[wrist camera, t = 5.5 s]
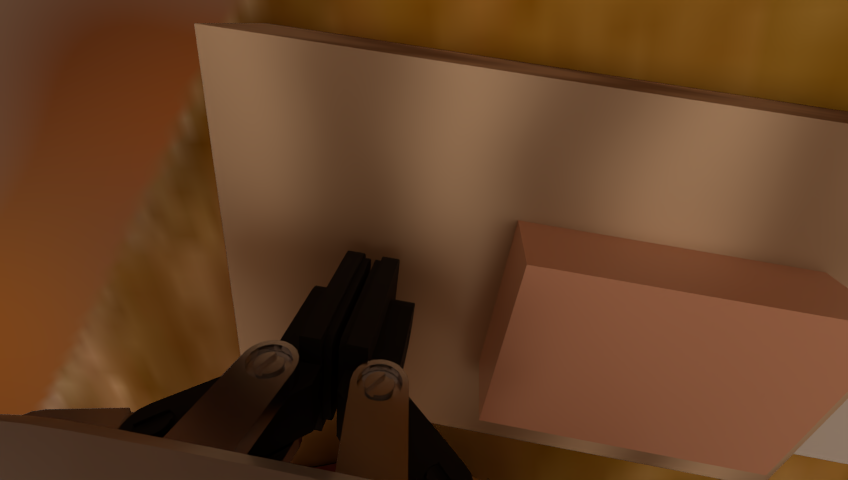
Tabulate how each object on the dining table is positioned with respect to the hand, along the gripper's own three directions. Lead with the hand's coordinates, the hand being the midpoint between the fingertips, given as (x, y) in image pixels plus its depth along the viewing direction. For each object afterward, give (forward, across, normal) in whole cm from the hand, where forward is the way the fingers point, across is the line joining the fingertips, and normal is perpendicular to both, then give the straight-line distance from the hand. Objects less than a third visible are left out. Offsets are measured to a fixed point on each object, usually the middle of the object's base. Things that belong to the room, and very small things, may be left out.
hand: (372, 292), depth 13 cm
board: (+5, -6, 0) cm, 7 cm away
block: (+1, -9, 0) cm, 9 cm away
